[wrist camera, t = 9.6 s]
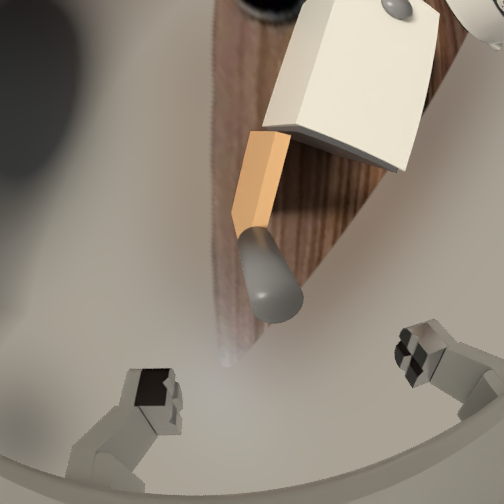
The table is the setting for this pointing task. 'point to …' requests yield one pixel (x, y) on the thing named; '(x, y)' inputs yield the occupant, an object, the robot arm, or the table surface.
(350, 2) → the camera case
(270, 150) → the wooden flat board
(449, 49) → the table surface
